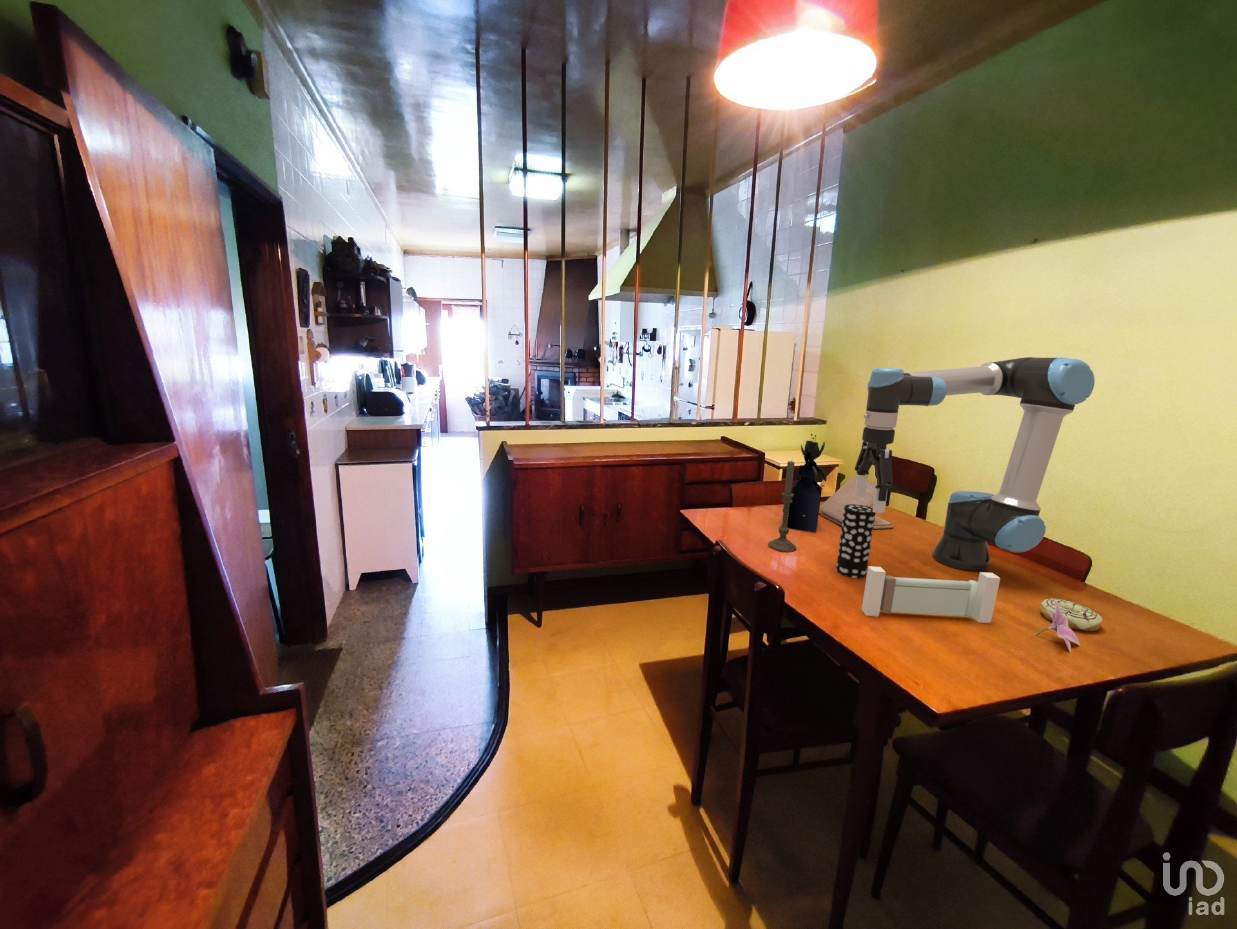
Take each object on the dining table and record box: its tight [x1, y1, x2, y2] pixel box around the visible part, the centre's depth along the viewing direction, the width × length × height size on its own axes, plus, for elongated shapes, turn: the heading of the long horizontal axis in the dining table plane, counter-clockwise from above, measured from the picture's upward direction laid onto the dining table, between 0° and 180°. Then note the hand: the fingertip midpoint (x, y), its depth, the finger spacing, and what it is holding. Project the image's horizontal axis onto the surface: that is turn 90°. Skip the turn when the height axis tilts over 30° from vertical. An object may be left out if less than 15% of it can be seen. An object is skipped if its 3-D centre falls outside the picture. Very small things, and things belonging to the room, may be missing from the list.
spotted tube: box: [835, 504, 876, 579], centre depth 152 cm, size 8×8×20 cm
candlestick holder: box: [767, 460, 797, 553], centre depth 169 cm, size 9×9×30 cm
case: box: [819, 476, 895, 530], centre depth 200 cm, size 20×21×16 cm
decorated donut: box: [1039, 598, 1104, 633], centre depth 129 cm, size 11×12×4 cm
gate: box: [880, 574, 978, 618], centre depth 128 cm, size 22×2×9 cm, turn 86°
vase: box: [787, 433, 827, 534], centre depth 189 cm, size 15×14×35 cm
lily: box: [1035, 598, 1081, 654], centre depth 119 cm, size 11×11×9 cm
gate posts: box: [861, 565, 1001, 624], centre depth 128 cm, size 30×3×12 cm, turn 86°
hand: (868, 504), depth 140 cm, fingers open, 13 cm apart
